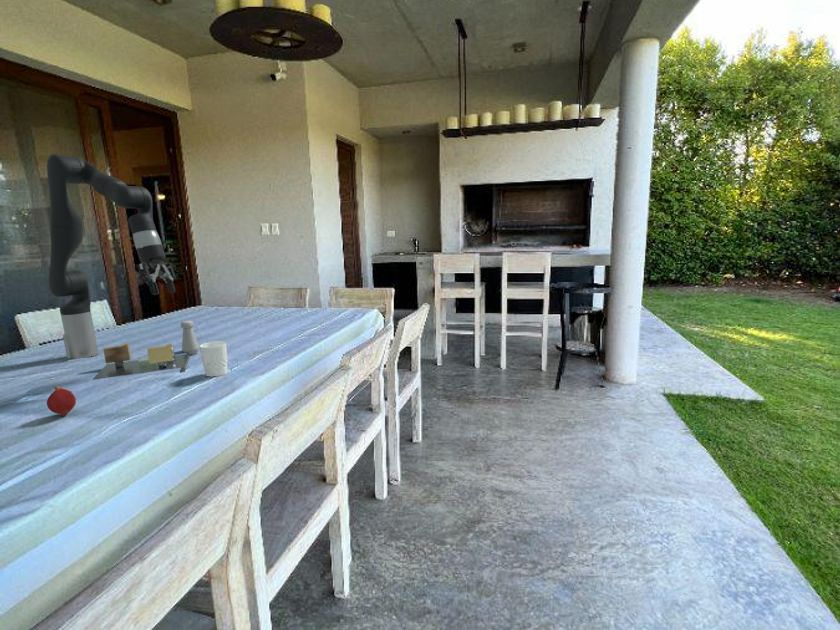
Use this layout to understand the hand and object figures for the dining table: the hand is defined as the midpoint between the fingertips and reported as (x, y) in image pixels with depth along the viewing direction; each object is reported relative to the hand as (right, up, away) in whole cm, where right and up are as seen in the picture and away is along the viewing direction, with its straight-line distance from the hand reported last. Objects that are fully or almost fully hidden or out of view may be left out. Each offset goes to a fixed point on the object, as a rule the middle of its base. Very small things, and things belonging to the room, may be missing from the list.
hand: (164, 293), depth 148 cm
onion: (-7, -34, -32) cm, 47 cm away
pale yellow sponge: (-1, -25, +2) cm, 25 cm away
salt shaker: (-2, -23, +22) cm, 31 cm away
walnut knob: (-17, -25, +4) cm, 31 cm away
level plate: (-9, -26, +4) cm, 28 cm away
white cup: (+19, -27, -3) cm, 33 cm away
